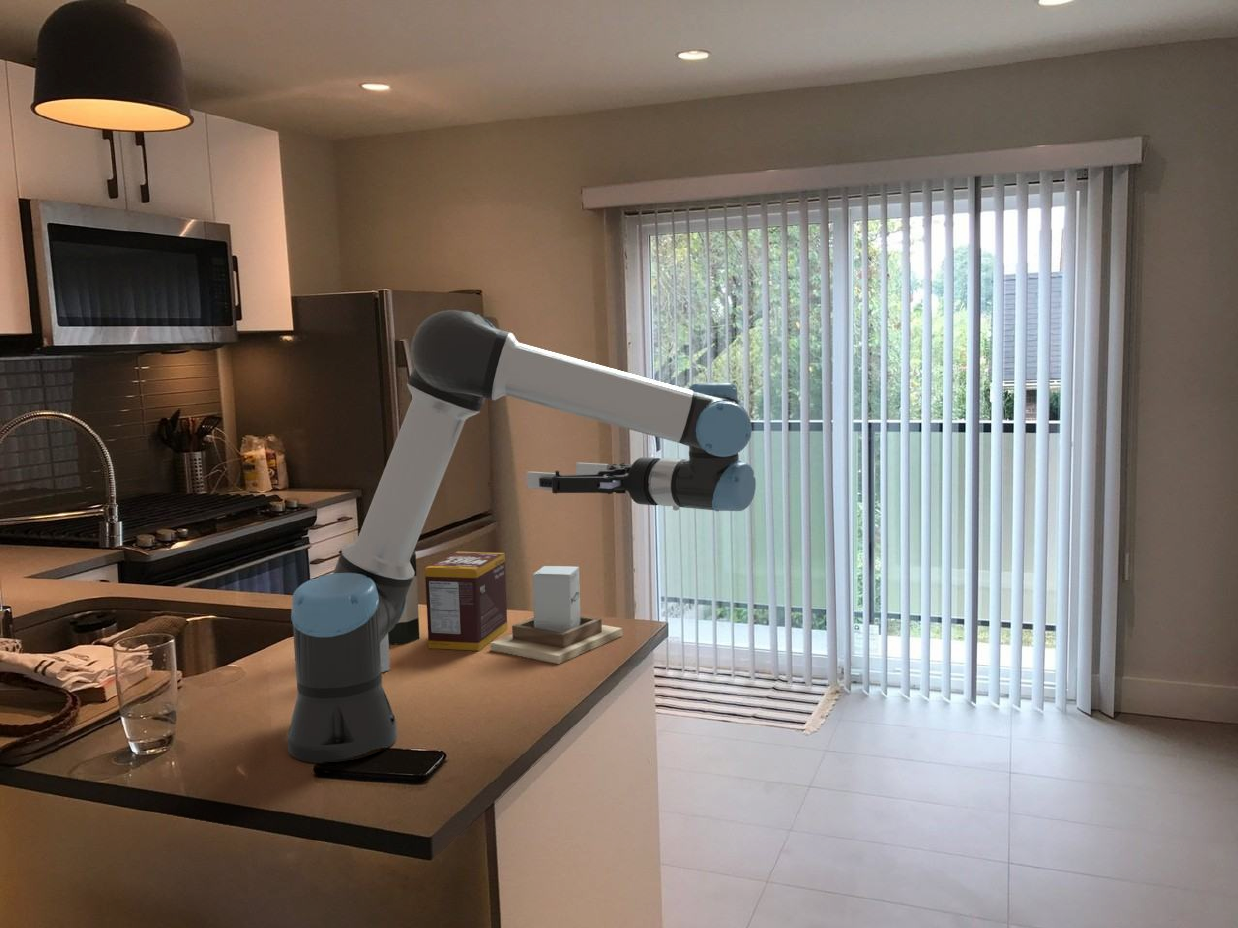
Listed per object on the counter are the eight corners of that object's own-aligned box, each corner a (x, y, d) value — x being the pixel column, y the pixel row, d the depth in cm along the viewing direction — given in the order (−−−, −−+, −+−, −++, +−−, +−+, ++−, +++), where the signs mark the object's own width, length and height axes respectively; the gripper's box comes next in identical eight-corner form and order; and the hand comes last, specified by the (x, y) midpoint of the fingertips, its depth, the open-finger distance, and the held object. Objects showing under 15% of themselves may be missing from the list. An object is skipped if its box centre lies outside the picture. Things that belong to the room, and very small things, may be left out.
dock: (558, 664, 176) (558, 642, 176) (490, 650, 185) (489, 629, 185) (622, 635, 193) (621, 615, 192) (556, 624, 202) (556, 605, 201)
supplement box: (508, 628, 200) (505, 552, 198) (479, 651, 185) (475, 569, 183) (460, 626, 202) (457, 550, 201) (427, 648, 188) (423, 567, 186)
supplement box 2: (571, 641, 185) (569, 574, 183) (533, 639, 186) (530, 573, 185) (582, 630, 192) (580, 565, 190) (545, 628, 193) (543, 564, 192)
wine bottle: (426, 632, 198) (419, 482, 195) (412, 644, 190) (404, 488, 187) (386, 631, 199) (378, 482, 196) (370, 644, 191) (362, 489, 188)
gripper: (615, 517, 148) (506, 507, 160) (699, 494, 169) (597, 487, 180) (614, 467, 147) (504, 460, 159) (698, 450, 168) (595, 446, 180)
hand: (553, 474), depth 170 cm, fingers open, 13 cm apart
